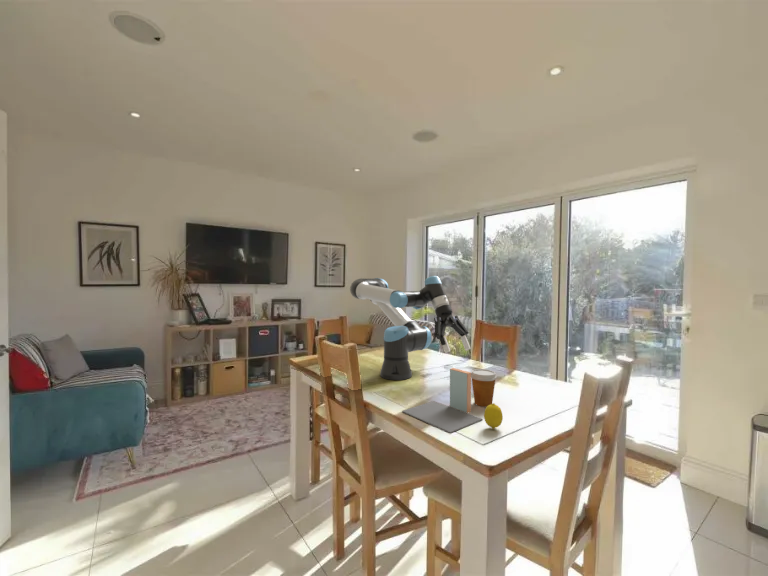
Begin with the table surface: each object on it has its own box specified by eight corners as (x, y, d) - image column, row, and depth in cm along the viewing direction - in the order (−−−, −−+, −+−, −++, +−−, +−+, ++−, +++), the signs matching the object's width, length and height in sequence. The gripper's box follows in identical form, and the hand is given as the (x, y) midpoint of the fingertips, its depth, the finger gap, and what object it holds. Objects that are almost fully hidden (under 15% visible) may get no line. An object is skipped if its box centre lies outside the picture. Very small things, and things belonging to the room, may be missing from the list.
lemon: (498, 424, 114) (498, 400, 114) (505, 432, 109) (505, 406, 108) (481, 425, 114) (481, 400, 114) (487, 432, 108) (487, 406, 108)
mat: (402, 411, 125) (402, 410, 125) (433, 401, 135) (433, 400, 135) (450, 433, 108) (450, 432, 108) (482, 420, 118) (482, 418, 118)
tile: (449, 406, 130) (449, 368, 130) (453, 405, 131) (453, 367, 131) (466, 413, 124) (467, 373, 123) (470, 411, 125) (471, 372, 125)
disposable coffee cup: (500, 408, 128) (500, 375, 128) (473, 408, 128) (474, 375, 128) (491, 399, 138) (492, 368, 137) (467, 399, 138) (467, 368, 137)
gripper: (428, 303, 154) (444, 349, 146) (465, 303, 169) (482, 345, 161) (417, 310, 159) (432, 356, 151) (454, 310, 174) (470, 351, 166)
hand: (458, 350), depth 156 cm, fingers open, 13 cm apart
